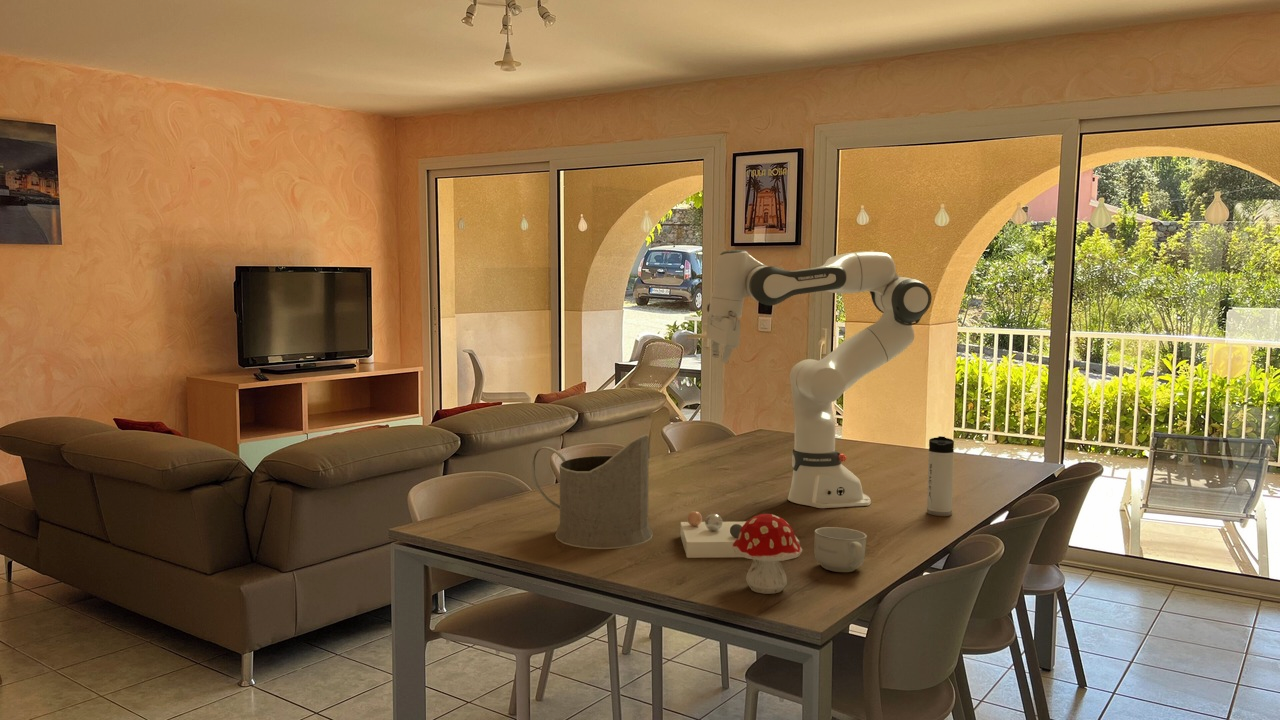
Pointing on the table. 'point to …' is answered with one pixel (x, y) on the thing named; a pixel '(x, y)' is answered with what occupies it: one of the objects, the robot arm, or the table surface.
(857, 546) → the teacup
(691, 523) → the terracotta ball
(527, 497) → the table surface
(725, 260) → the robot arm
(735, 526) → the black rubber ball
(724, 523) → the white slab
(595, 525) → the pitcher
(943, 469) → the travel mug
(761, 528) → the decorative mushroom
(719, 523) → the steel ball
